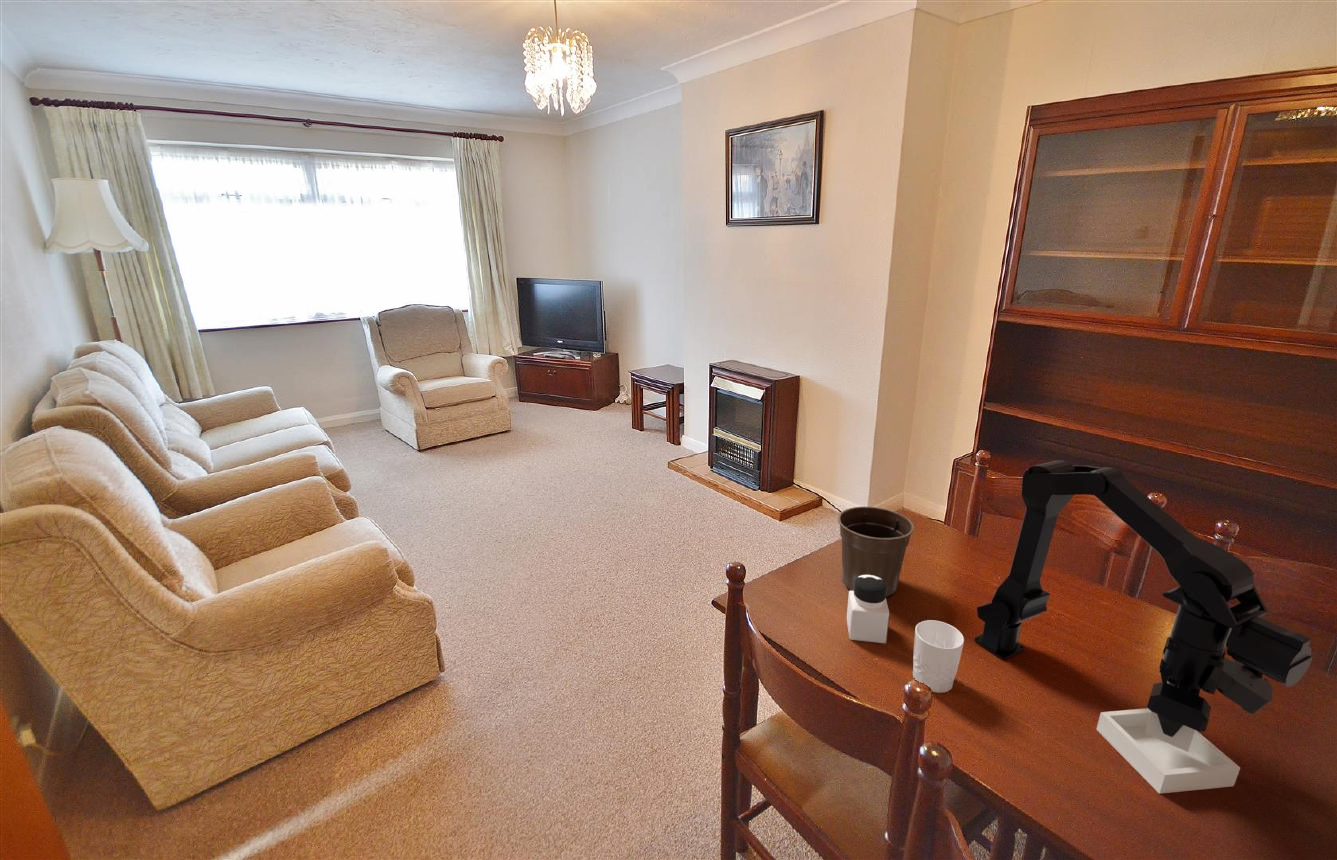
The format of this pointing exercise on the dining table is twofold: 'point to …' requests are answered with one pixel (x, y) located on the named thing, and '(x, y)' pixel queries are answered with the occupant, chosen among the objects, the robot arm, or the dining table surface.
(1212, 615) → the robot arm
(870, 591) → the medicine bottle
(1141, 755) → the tray
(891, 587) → the plant pot
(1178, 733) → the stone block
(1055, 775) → the dining table surface
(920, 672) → the white cup
